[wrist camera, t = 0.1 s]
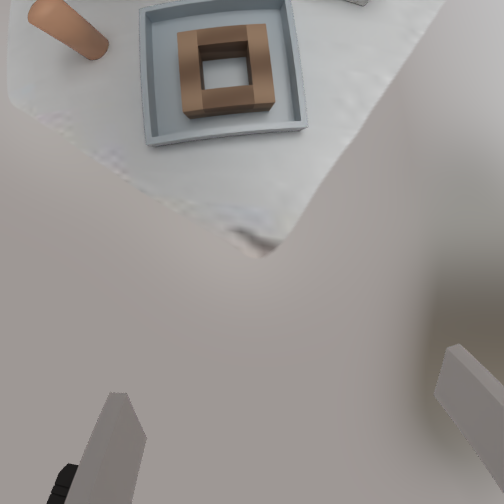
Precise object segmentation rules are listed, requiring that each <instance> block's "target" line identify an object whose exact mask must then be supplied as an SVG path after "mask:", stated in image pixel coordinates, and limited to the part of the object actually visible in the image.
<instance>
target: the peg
mask: <svg viewBox="0 0 504 504" xmlns="http://www.w3.org/2000/svg"><path fill="white" fill-rule="evenodd" d="M28 21H29V23H31V24H32V25H34V26H36V27H37V28H39V29H41V30H43V31H44V32H46V33H48V34H49V35H51V36H52V37H54V38H56V39H57V40H59V41H61V42H62V43H64V44H65V45H67V46H69V47H70V48H72V49H73V50H75V51H77V52H78V53H80V54H81V55H83V56H84V57H86V58H87V59H89V60H96V59H99V58H100V57H102V56H103V55H104V54H105V53H106V51H107V49H108V46H109V43H108V40H107V39H106V38H105V37H104V36H103V35H102V34H101V33H100V32H99V31H97V30H96V29H95V28H94V27H93V26H92V25H91V24H90V23H89V22H87V21H86V20H85V19H84V18H83V17H82V16H81V15H79V14H78V13H77V12H76V11H75V10H74V9H73V8H71V7H70V6H69V5H68V4H67V3H66V2H64V1H63V0H37V1H36V2H35V3H34V4H33V5H32V7H31V9H30V11H29V13H28Z"/></svg>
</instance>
